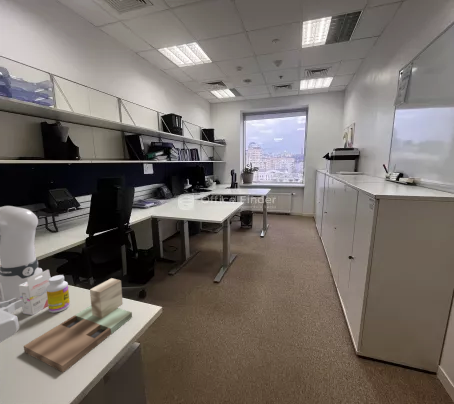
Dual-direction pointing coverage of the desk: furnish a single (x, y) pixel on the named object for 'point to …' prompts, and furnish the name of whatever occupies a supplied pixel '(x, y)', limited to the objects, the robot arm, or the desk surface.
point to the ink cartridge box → (35, 293)
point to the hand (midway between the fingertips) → (20, 301)
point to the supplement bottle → (57, 294)
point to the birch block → (106, 297)
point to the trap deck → (75, 337)
